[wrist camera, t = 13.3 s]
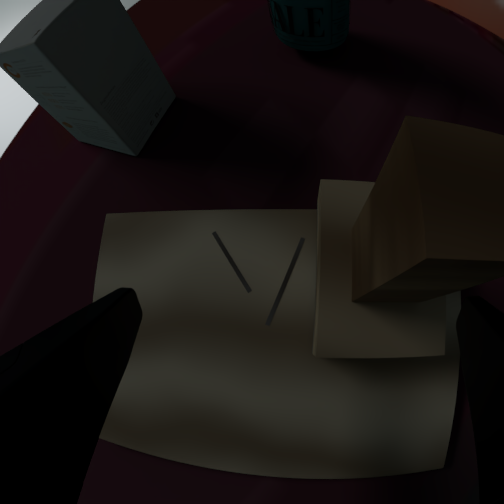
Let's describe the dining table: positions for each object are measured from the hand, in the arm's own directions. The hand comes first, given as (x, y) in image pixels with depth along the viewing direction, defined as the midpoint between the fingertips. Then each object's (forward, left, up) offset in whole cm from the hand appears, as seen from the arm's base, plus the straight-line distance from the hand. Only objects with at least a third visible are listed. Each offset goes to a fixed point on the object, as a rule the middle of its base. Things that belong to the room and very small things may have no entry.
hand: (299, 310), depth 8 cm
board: (-1, +2, -10) cm, 10 cm away
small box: (+16, +15, -10) cm, 24 cm away
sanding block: (+2, -4, -8) cm, 9 cm away
